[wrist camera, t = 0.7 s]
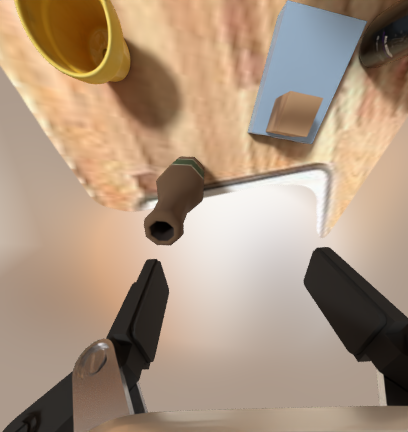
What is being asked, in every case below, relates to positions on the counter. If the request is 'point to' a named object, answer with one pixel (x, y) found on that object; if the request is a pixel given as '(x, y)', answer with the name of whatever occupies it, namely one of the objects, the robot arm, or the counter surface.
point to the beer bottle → (175, 200)
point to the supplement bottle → (386, 37)
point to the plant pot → (77, 37)
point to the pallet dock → (305, 61)
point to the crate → (293, 114)
